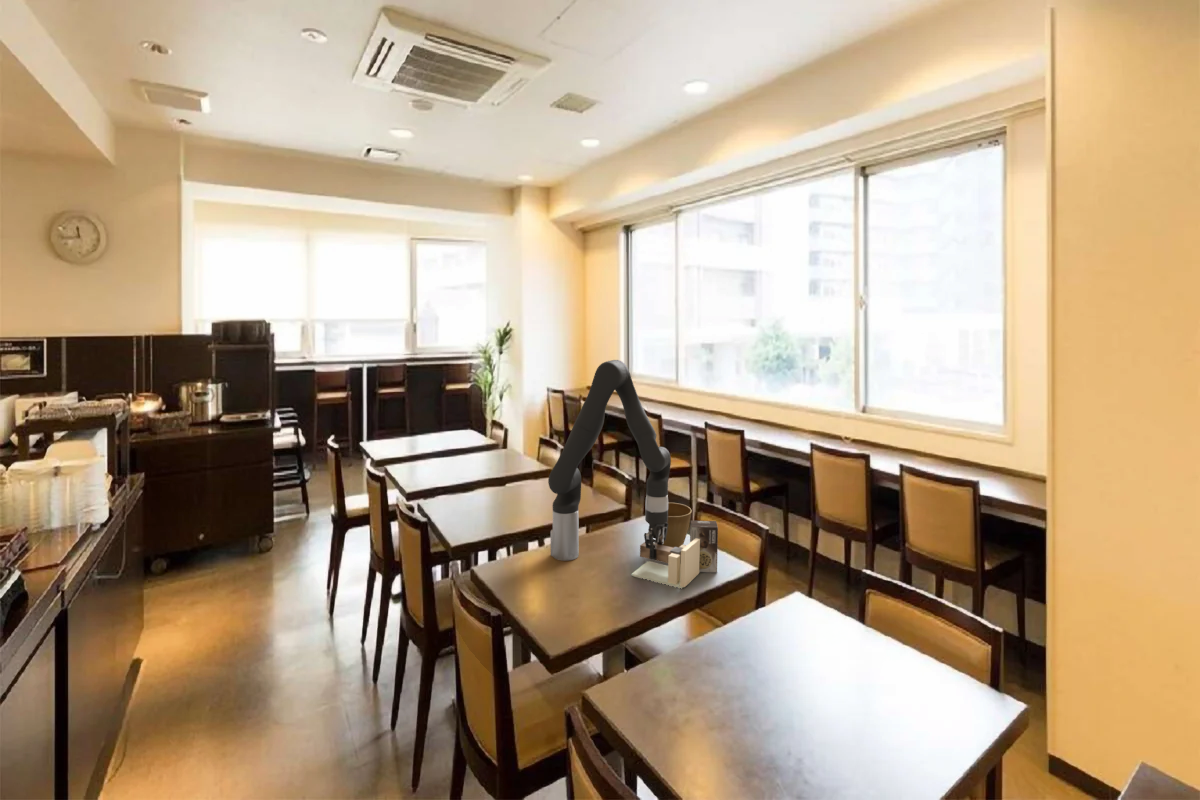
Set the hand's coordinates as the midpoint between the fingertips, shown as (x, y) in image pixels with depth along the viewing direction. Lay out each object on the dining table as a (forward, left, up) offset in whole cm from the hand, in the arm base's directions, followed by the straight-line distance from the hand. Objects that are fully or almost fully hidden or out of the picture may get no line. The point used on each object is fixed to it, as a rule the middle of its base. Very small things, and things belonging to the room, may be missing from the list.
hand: (656, 556), depth 200 cm
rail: (+2, 0, 0) cm, 2 cm away
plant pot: (-4, +20, -6) cm, 21 cm away
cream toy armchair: (+4, 0, -6) cm, 7 cm away
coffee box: (+12, +12, -6) cm, 18 cm away
